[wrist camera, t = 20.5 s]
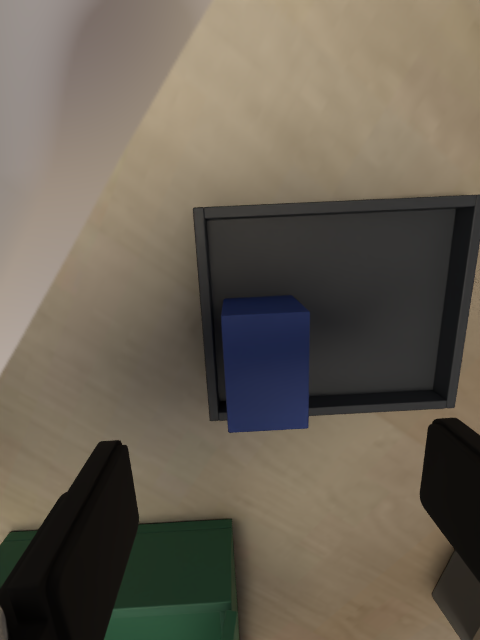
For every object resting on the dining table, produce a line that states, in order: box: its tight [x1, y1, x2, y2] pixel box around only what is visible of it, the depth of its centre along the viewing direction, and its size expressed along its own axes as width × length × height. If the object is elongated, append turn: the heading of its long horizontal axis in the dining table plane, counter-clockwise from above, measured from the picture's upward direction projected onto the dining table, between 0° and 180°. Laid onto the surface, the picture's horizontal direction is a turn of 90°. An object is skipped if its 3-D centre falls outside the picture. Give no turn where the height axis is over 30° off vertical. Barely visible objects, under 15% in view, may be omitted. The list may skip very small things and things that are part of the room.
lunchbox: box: [0, 519, 240, 640], centre depth 23 cm, size 18×15×6 cm
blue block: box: [221, 295, 310, 433], centre depth 18 cm, size 4×7×5 cm
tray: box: [193, 195, 480, 421], centre depth 19 cm, size 16×13×2 cm
